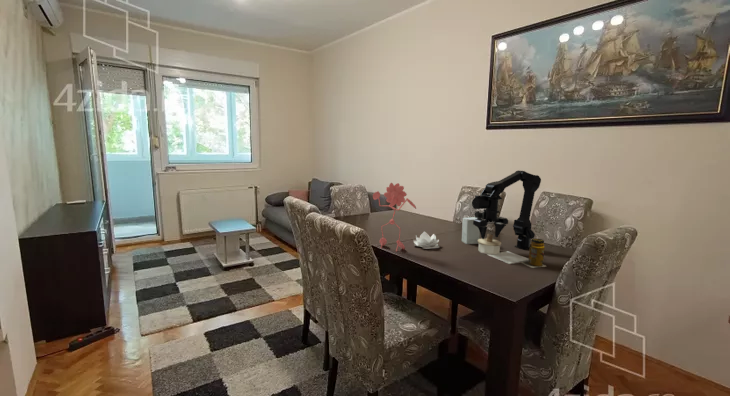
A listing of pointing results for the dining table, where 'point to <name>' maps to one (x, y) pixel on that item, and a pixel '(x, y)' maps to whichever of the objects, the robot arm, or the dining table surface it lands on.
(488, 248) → the bowl
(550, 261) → the dining table surface
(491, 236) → the lid
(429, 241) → the lotus flower
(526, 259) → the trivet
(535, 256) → the condiment
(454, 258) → the dining table surface
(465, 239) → the skincare box
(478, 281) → the dining table surface
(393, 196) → the figurine
